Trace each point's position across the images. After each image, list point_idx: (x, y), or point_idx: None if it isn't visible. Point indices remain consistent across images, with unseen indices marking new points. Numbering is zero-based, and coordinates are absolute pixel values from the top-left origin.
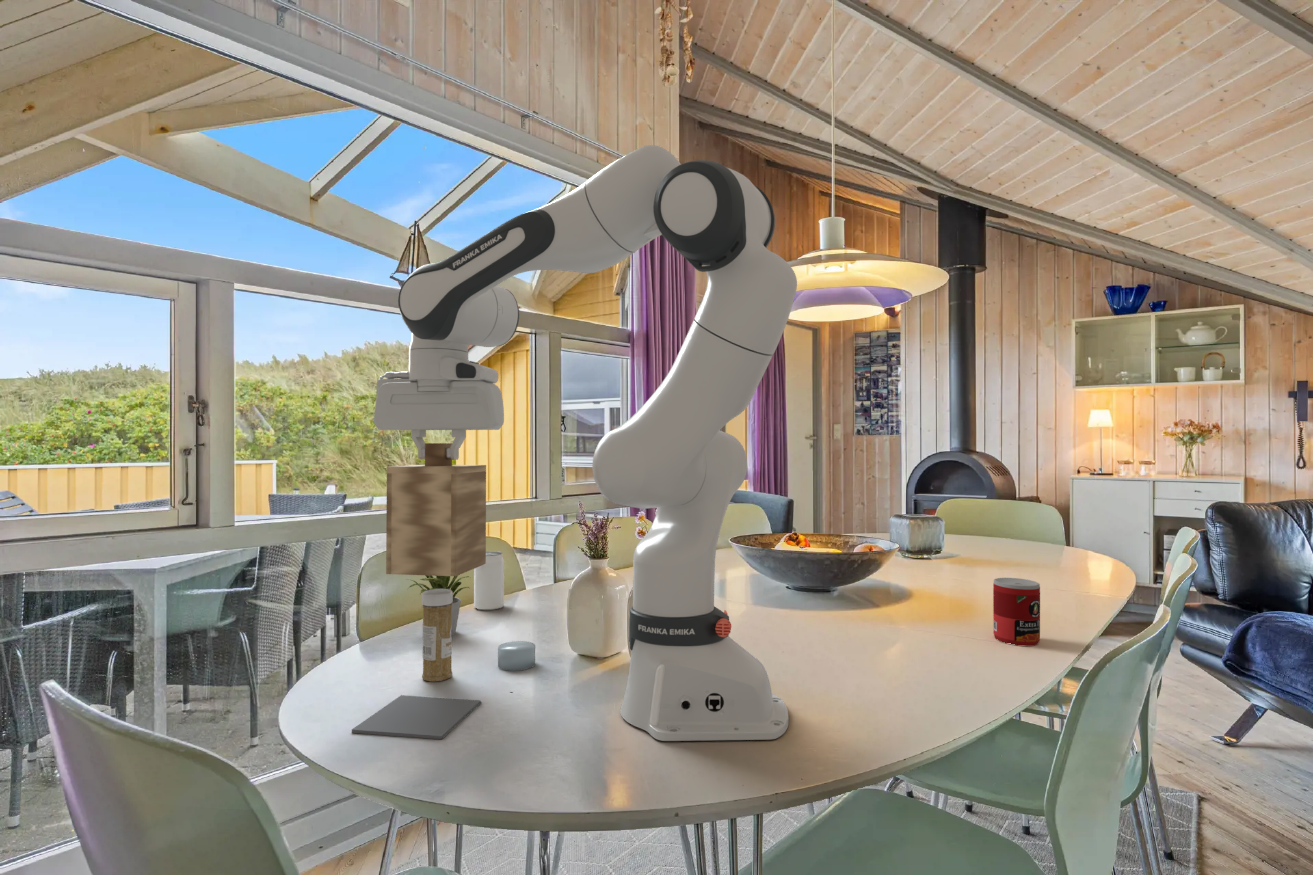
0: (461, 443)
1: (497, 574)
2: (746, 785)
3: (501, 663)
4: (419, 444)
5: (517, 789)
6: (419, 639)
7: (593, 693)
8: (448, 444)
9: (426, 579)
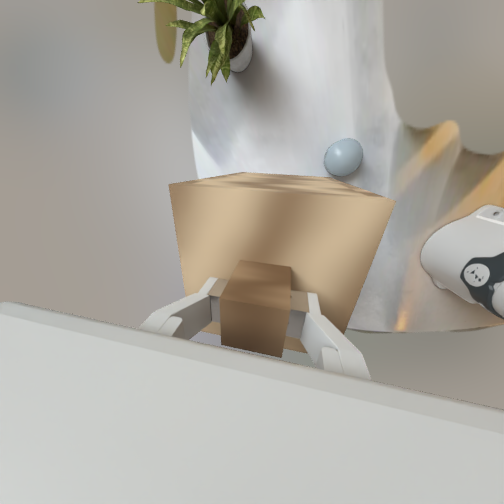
0: (336, 333)
1: None
2: (466, 321)
3: (329, 172)
4: (200, 329)
5: (358, 318)
6: (226, 86)
7: (406, 219)
8: (286, 328)
9: (215, 73)
